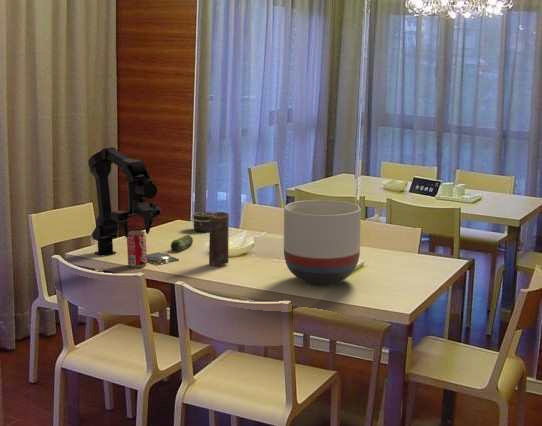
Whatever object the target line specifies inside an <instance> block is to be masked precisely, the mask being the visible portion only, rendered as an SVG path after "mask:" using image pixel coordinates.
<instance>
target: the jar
mask: <svg viewBox="0 0 542 426" xmlns="http://www.w3.org/2000/svg"><path fill="white" fill-rule="evenodd" d="M212 213H213V212H211V211H201V212H195V213H193V216H192V220H193V230H194V231H195V232H196V233H200V234H201V233H202V234H203V233H205V234H207V233H209V234H210V215H211V214H212Z"/></svg>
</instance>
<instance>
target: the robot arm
mask: <svg viewBox="0 0 542 426" xmlns="http://www.w3.org/2000/svg"><path fill="white" fill-rule="evenodd" d="M113 164H114V165H116V166H117V167H119V168H120V169H121V170H122V171H121V172H122V173H123V175H124V176H125V177H126V178H125V179H124V182H126V183H127V196H126V197H125V199H126V201H127V204H128V205H127V206H128V207H126V211H125V210H115V211H113V210H112V203H111V195H110V185H109V176H110V173H111V172H112V165H113ZM88 167H89V171H90V174H91V175H92V176H93V177H94V179H95V189H96V195H97V199H96V200H97V205H98V216H97V219H95V220H96V221H95V228H94V229H93V231H92V233H91V237H92V239H93V240H95V241H97V251H94V254H96V253H97V254H96V255H98V254H99V256H101V255H106V256H110V255H109V254H111V255H115V253H116V254H117V251H114V243H113V239H117V238H118V234H119V227H120V230H121V231H122V233H123V235H124V238H126V239H127V237H128V230H129V229H128V224H129V220H128V219H129V218H131V217H136V216H139V217H140V218H142V219H143V220H144V231H145V235H146V234H147V235H149V233H150V231H151V228H152V224H153V222H154V220H155V219H156V218H158V217H159V216H160V215H162V210H161V207H160V206H157V203H156V202H150V203H147V199H149V200H151V199H154V198H155V197H156V196H157V193H158V188H157V186H156V184H154V183H153V180H152V179H151V174H150V173H149V171H148V169H147V166H146V164H145V163H144V161H142V160H140V159H134V158H130V157H129V156H127V155H125V154H123V153H122V152H121V151H118V150H117V148H116V147H113V146H112V147H110V146H109V147H104V148H101V150H100V151H98V152H96V153H95V154H93V155H91V156H90V158H89V159H88Z"/></svg>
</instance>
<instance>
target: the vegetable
mask: <svg viewBox="0 0 542 426" xmlns="http://www.w3.org/2000/svg"><path fill="white" fill-rule="evenodd" d="M193 242H194V240H193V237H192V236H191V235H189V234H186V235H184V236H182V237H178V238H177V239H173V241H172V242H171V243H170V249H171V250H172V252H175V253H177V252H182V251H183V250H185V249H187V248H189V247H191V246H192V245H193Z"/></svg>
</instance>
